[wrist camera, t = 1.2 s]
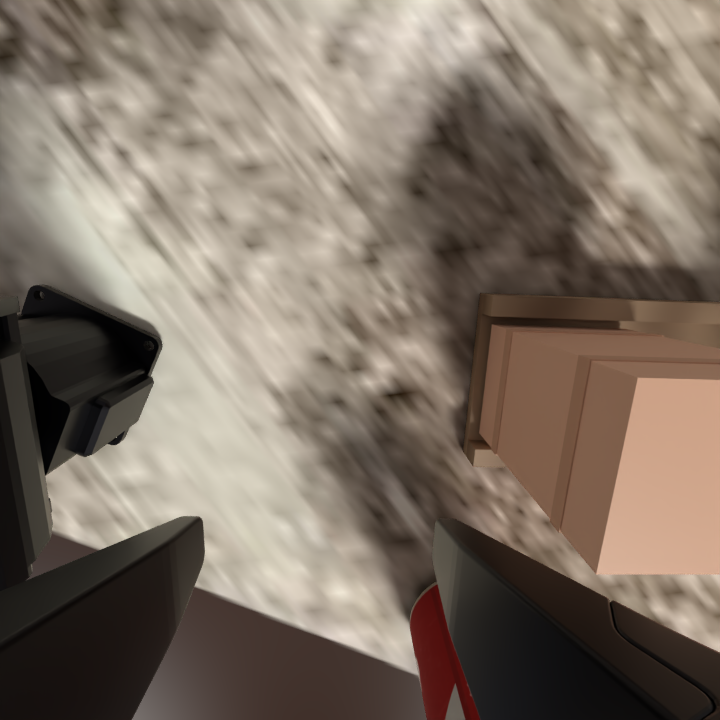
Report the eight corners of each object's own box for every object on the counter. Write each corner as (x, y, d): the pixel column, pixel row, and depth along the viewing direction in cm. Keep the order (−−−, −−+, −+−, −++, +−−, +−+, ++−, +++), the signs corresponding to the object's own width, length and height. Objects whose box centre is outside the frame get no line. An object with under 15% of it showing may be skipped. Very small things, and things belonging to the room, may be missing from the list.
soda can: (439, 549, 24) (532, 823, 12) (530, 586, 24) (701, 874, 13) (389, 631, 25) (430, 951, 13) (478, 663, 26) (590, 989, 14)
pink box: (478, 433, 21) (594, 575, 11) (491, 323, 20) (636, 375, 10) (603, 436, 21) (820, 575, 12) (624, 327, 20) (892, 382, 10)
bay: (462, 451, 22) (550, 584, 13) (480, 293, 20) (599, 313, 11) (754, 456, 23) (1036, 583, 14) (799, 305, 21) (1168, 333, 12)
